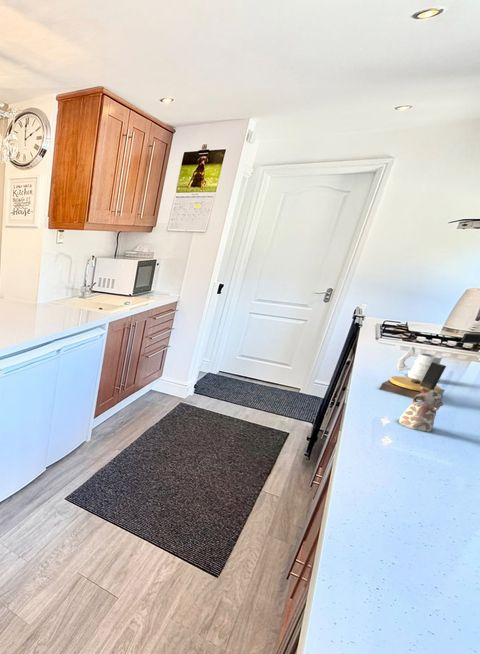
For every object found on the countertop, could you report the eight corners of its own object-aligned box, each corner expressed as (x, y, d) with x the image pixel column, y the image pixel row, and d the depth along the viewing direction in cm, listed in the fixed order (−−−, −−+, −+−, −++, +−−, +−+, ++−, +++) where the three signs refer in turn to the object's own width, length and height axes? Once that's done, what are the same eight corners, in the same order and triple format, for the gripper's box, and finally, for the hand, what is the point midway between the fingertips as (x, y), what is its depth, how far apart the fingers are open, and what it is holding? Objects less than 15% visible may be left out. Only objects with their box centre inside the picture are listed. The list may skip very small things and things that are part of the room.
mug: (431, 383, 161) (446, 354, 157) (391, 374, 170) (404, 347, 165) (433, 379, 166) (448, 351, 161) (394, 370, 174) (406, 344, 169)
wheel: (443, 388, 147) (457, 362, 143) (434, 395, 141) (448, 368, 137) (395, 377, 157) (407, 352, 153) (384, 382, 151) (397, 357, 147)
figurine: (424, 433, 119) (444, 396, 115) (393, 422, 125) (411, 387, 120) (435, 429, 122) (455, 393, 117) (404, 418, 128) (422, 384, 123)
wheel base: (441, 396, 148) (445, 389, 147) (431, 403, 141) (435, 396, 140) (390, 383, 159) (393, 377, 158) (379, 389, 152) (382, 383, 151)
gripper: (579, 365, 128) (499, 359, 130) (510, 347, 146) (441, 342, 148) (594, 342, 125) (512, 337, 127) (522, 327, 143) (451, 323, 145)
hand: (474, 340), depth 138 cm, fingers open, 6 cm apart
